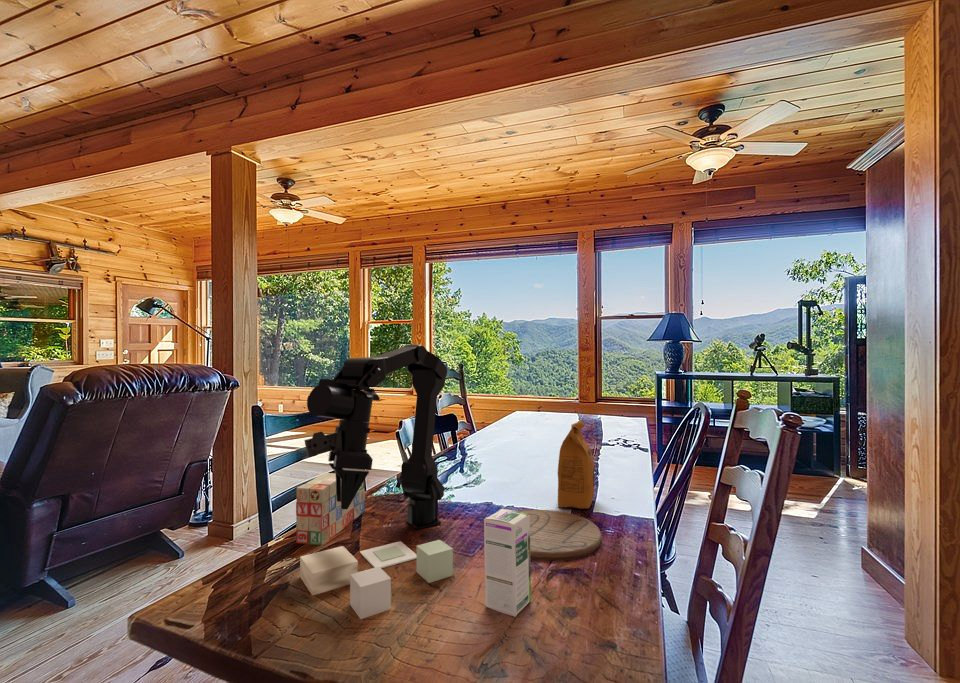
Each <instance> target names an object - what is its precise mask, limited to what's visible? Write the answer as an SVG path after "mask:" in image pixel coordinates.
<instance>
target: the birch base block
mask: <svg viewBox="0 0 960 683" xmlns="http://www.w3.org/2000/svg"><path fill="white" fill-rule="evenodd" d="M299 558H300V560H299V561H300V562H299V564H300V565H299V578H300V579H301V580H302V581H303V583H304V586H305V587H306V588H307V590H308V592H310V594H311V596H315V595H319V594H322V593H326V592H329V591H333V590H335V589H339V588H342V587H346V586H349V585H350V574H353V573H357V572H359V561H358V560H357V558H356V557H355V556H354V555H353V554H352V553H350V552H349V551H348V549H347V548H346V547H345V546H344V545H342V546H341V545H340V546H337V547H333V548H329V549H325V550H322V551H317V552H313V553H309V554H306V555H301V556H299Z"/></svg>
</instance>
